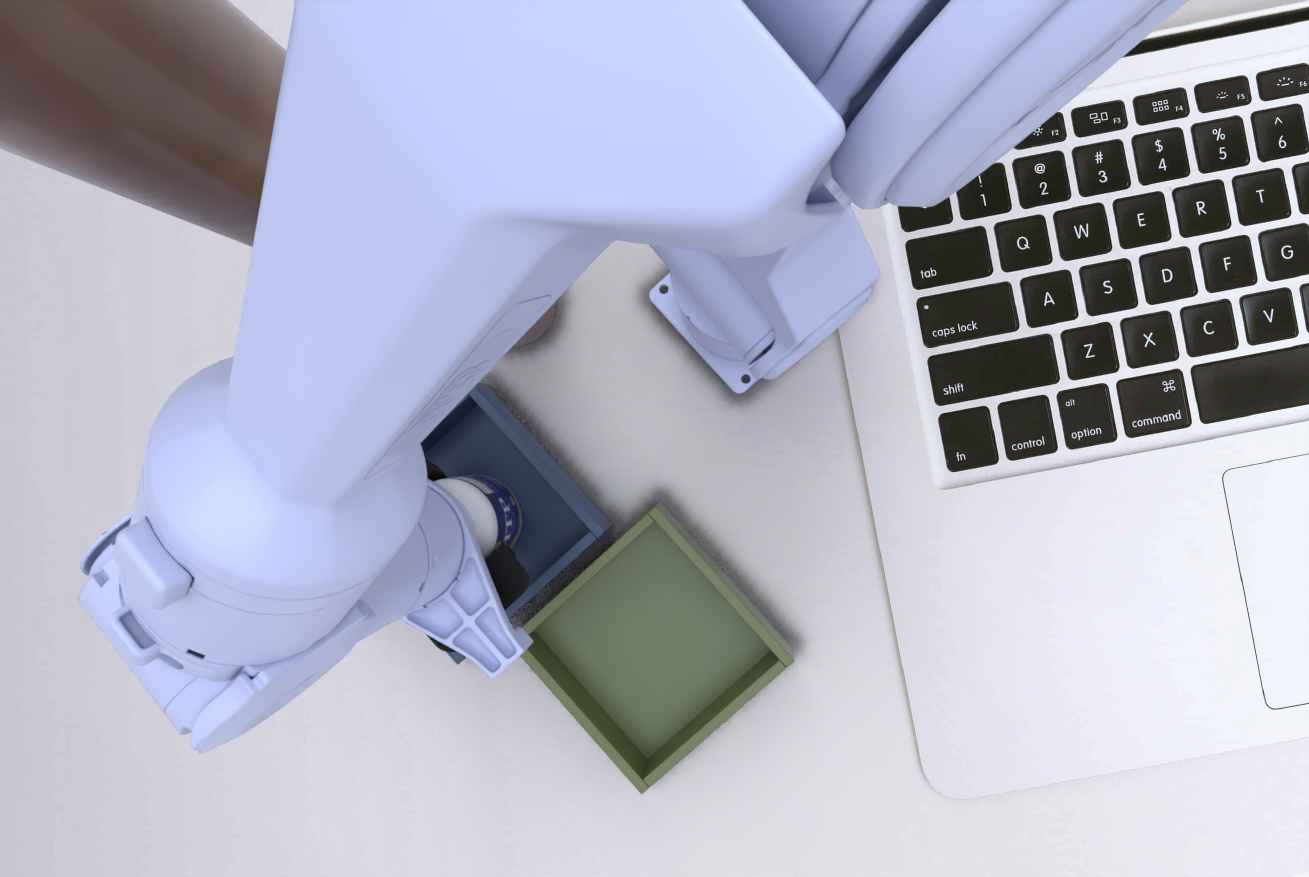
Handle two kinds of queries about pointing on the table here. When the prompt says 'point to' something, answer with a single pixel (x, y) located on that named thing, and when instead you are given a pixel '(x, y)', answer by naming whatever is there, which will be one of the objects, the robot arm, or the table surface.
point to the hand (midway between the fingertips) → (464, 522)
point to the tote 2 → (653, 648)
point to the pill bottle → (487, 509)
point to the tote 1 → (518, 485)
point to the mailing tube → (149, 104)
